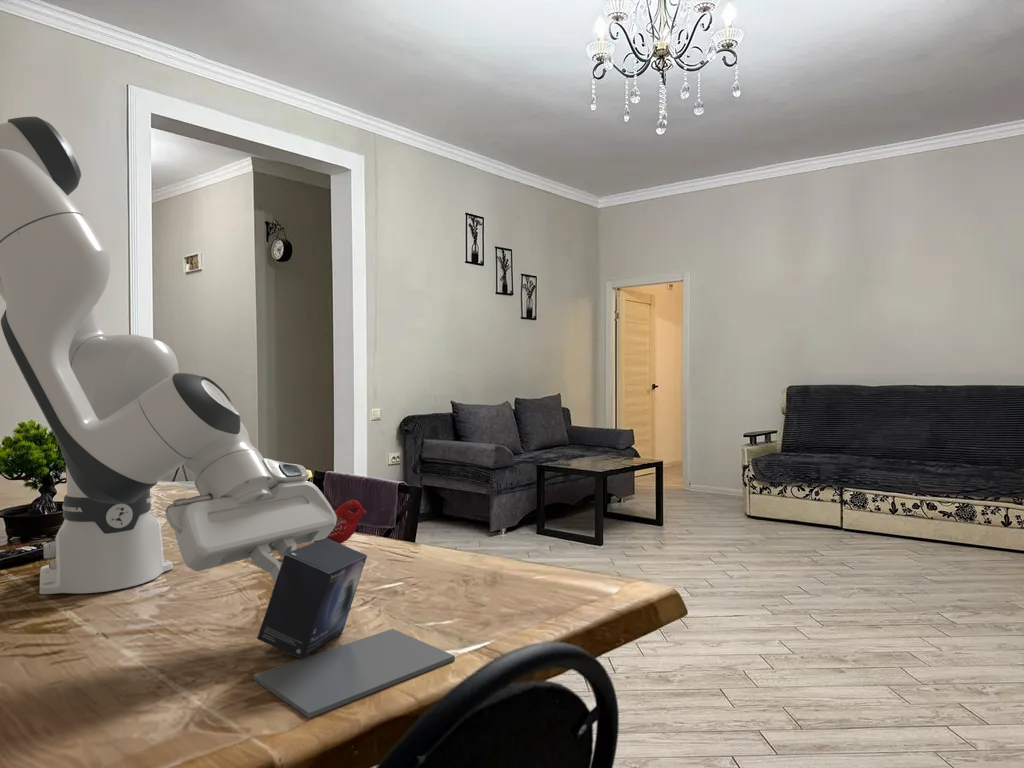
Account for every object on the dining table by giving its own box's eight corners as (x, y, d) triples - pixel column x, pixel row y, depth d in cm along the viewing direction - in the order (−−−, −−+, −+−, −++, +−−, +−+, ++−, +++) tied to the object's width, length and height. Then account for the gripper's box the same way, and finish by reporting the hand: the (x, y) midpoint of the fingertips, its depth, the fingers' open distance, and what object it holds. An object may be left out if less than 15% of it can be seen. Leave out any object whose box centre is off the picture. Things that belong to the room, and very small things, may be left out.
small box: (304, 662, 77) (331, 573, 76) (254, 640, 78) (280, 552, 78) (346, 632, 87) (370, 553, 87) (301, 613, 88) (325, 535, 88)
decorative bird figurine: (364, 558, 121) (363, 501, 121) (271, 555, 124) (270, 499, 124) (370, 554, 124) (369, 498, 124) (279, 550, 127) (278, 496, 127)
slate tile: (253, 679, 74) (253, 674, 74) (392, 632, 87) (392, 628, 87) (309, 718, 65) (309, 713, 65) (454, 660, 78) (454, 655, 78)
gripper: (169, 485, 79) (220, 584, 74) (313, 464, 96) (364, 543, 91) (150, 519, 82) (198, 617, 77) (294, 493, 99) (341, 572, 93)
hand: (289, 577), depth 84 cm, fingers closed
